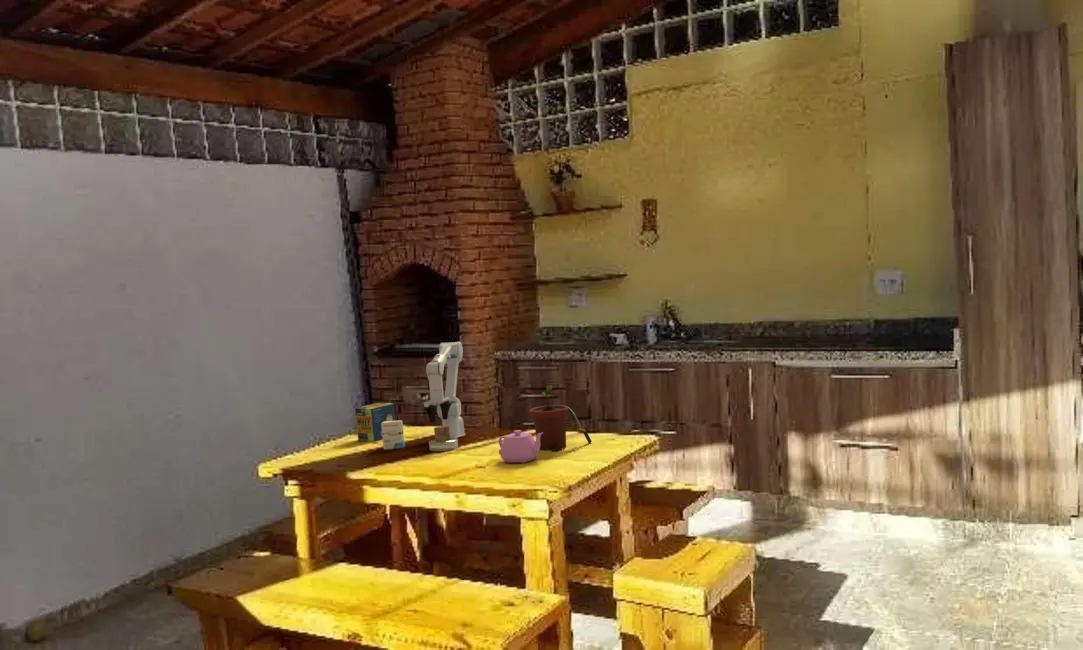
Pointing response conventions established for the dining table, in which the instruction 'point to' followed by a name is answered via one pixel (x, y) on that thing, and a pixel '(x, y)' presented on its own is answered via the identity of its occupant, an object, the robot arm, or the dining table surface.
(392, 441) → the ink box
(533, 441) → the teapot
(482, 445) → the dining table surface
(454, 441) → the biscuit tin
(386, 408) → the protein box
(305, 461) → the dining table surface
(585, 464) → the dining table surface
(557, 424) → the potted plant
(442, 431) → the walnut block
